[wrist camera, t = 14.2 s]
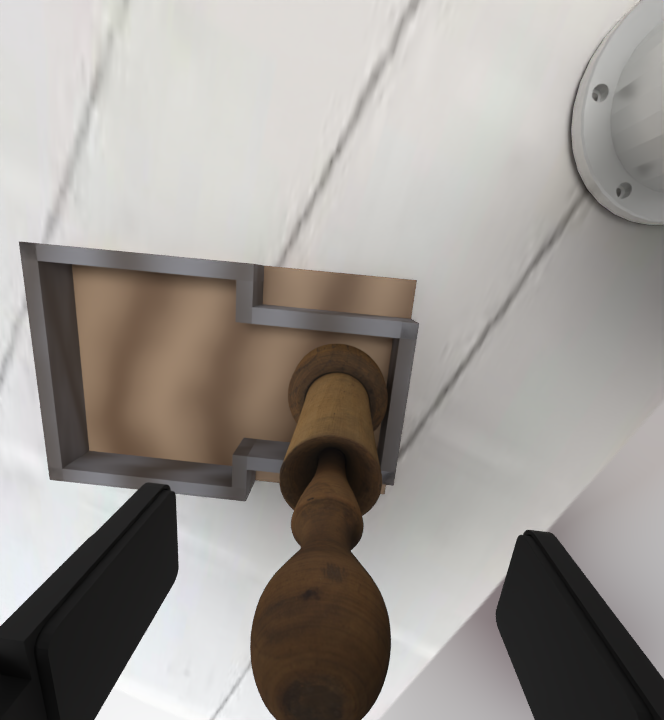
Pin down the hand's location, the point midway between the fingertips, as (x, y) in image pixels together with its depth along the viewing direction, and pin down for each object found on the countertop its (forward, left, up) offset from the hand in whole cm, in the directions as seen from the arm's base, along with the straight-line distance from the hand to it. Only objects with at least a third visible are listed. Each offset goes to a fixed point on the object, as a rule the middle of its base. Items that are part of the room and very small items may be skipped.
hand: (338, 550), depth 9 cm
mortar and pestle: (0, 0, -15) cm, 15 cm away
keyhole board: (+8, +1, -16) cm, 18 cm away
